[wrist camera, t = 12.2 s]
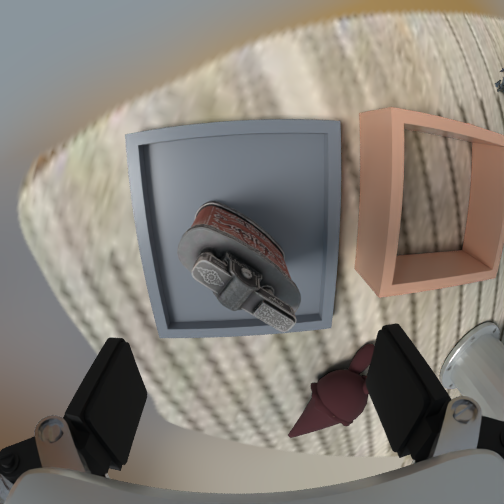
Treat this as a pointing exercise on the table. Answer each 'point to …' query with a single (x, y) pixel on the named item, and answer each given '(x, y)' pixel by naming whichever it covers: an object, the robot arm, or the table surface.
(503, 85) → the dark blue piece
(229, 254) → the lighter
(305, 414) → the icecream
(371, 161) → the pink open box
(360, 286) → the table surface
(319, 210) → the tray
